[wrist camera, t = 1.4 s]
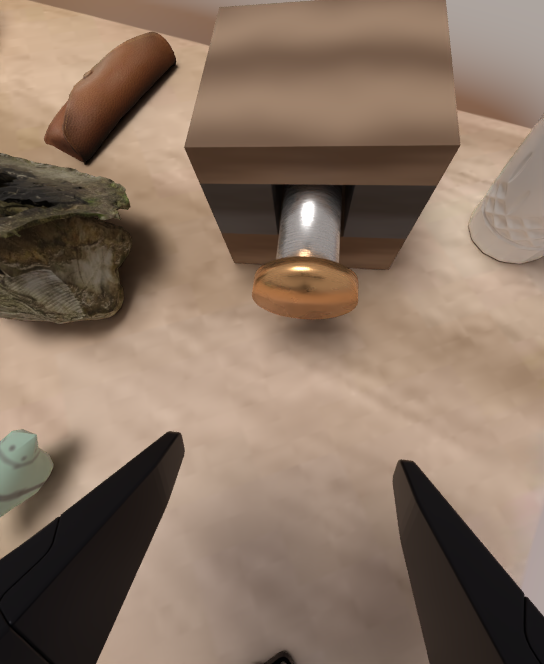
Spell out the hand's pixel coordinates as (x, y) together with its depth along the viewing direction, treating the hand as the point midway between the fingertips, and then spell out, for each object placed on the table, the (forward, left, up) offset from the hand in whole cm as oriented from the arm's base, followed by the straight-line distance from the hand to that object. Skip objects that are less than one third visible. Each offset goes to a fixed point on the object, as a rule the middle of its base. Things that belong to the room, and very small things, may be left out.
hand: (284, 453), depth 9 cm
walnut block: (+16, -13, -13) cm, 25 cm away
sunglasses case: (+44, -2, -14) cm, 46 cm away
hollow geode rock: (+29, +13, -14) cm, 35 cm away
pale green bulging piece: (+8, +19, -14) cm, 25 cm away
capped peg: (+11, -9, -10) cm, 17 cm away
